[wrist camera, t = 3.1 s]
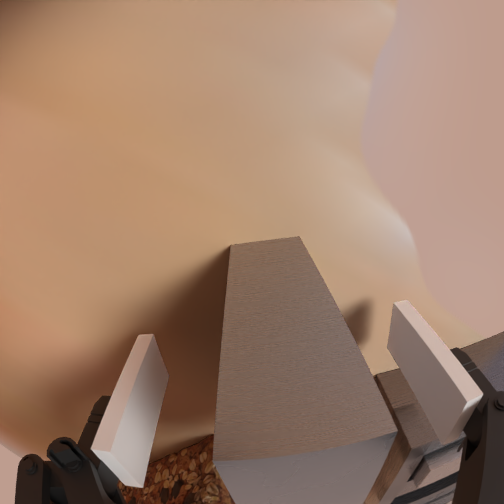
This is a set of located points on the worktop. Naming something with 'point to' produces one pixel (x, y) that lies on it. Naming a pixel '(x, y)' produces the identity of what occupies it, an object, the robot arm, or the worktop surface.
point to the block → (293, 387)
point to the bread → (181, 479)
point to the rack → (425, 437)
